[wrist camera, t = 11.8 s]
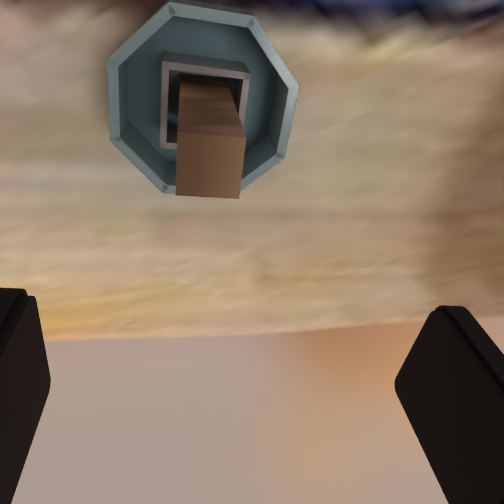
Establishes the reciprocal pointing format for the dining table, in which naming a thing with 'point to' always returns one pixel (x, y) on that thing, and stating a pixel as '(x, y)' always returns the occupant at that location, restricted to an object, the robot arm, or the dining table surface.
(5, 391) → the robot arm
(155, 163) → the octagonal socket dish
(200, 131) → the wood grain block
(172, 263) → the dining table surface
